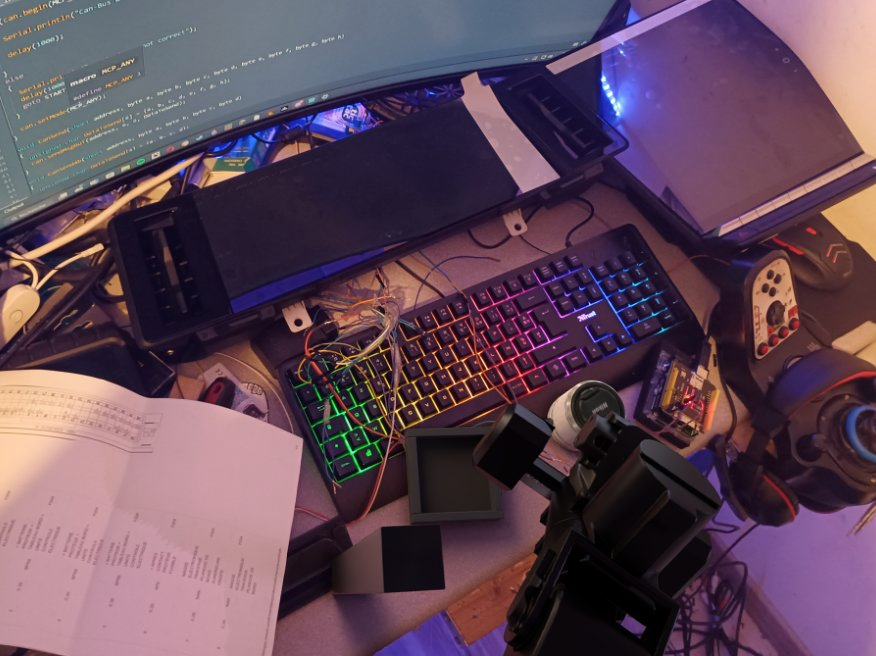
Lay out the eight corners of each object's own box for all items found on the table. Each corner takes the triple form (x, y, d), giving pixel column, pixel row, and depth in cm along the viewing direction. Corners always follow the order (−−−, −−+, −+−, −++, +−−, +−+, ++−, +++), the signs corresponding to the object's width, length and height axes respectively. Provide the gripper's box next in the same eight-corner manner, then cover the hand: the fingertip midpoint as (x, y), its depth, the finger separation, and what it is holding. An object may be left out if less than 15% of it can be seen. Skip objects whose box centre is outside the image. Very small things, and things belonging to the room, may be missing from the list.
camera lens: (532, 415, 78) (557, 397, 71) (575, 386, 80) (604, 366, 73) (566, 465, 76) (595, 452, 69) (609, 435, 78) (642, 419, 71)
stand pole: (363, 592, 69) (445, 589, 34) (331, 594, 68) (383, 593, 34) (361, 558, 70) (440, 523, 36) (331, 560, 70) (380, 526, 35)
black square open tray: (498, 521, 73) (505, 518, 71) (409, 525, 72) (413, 523, 70) (488, 431, 77) (494, 426, 75) (403, 433, 75) (407, 428, 73)
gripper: (782, 560, 46) (743, 449, 60) (535, 392, 48) (554, 323, 62) (673, 665, 50) (660, 537, 64) (449, 505, 52) (486, 416, 67)
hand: (591, 452), depth 64 cm, fingers open, 9 cm apart
